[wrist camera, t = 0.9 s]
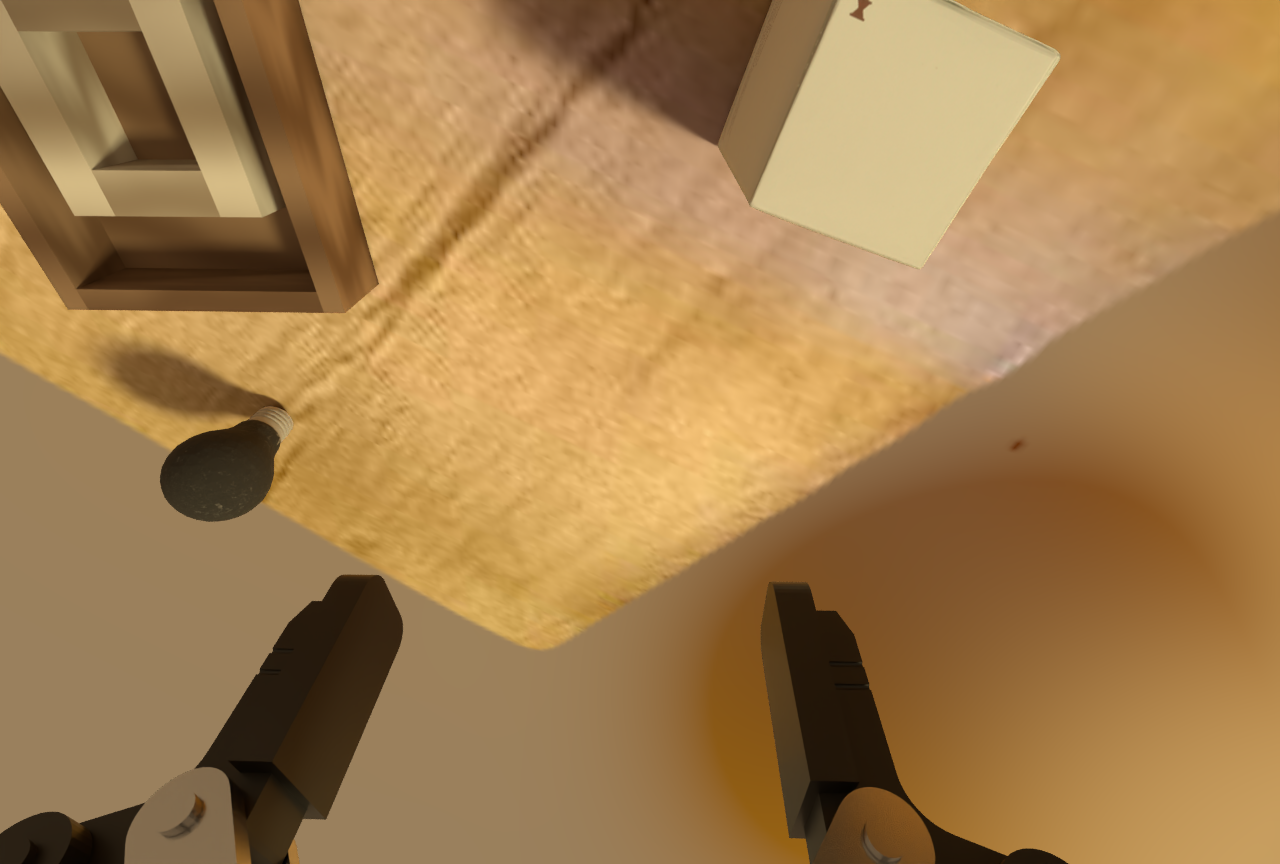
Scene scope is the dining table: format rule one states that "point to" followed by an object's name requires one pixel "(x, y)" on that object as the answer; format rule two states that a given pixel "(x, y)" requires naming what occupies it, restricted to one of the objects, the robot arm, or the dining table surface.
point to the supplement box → (877, 116)
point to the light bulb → (225, 467)
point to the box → (176, 157)
